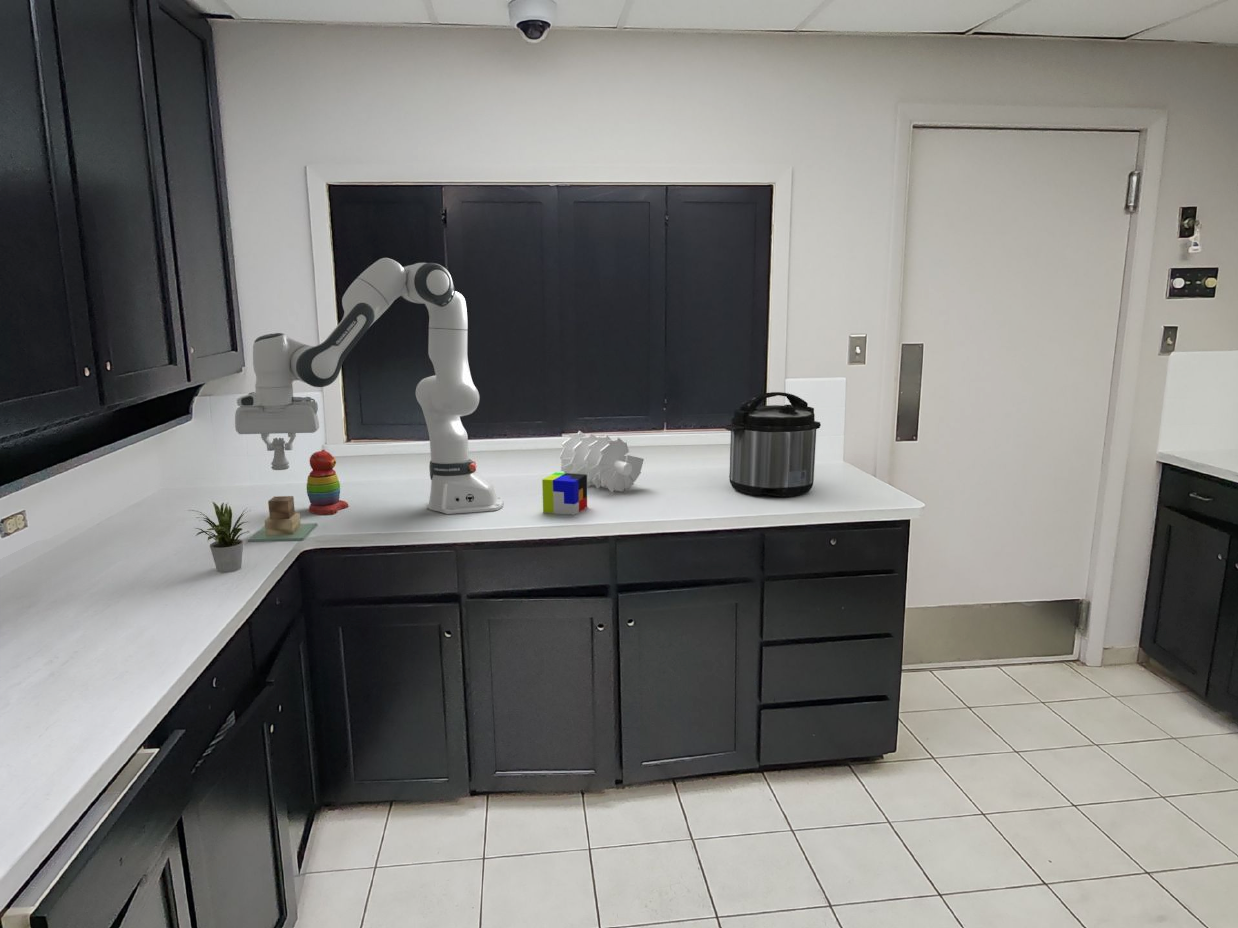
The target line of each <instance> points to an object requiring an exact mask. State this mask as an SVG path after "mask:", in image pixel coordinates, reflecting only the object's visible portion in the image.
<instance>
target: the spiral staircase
mask: <svg viewBox="0 0 1238 928" xmlns="http://www.w3.org/2000/svg"><path fill="white" fill-rule="evenodd" d="M561 445H562V450H561V452H560V454H559V457H558V458H559V459H560V460H561V462H560V463H561V464H560V465H561V466H560V472H563V473H572V474H586V475H587V488H589V487H590V486H595V487H596V489H600V487H601V488H604V489H608V490H609V491H610V492H611V493H614V491H618V492H624V491H625V490H627V489H628V488H630V487H632V486H634V485H635V482H636V481H637V479H639V476H640V475H641V473H642V472H641V471H642V467H643V464H644V460H645V459H644V458H642V457H638V456H633V455H629V454H628V453H629V452H630V450H629V447H628V444H627V441H626V440H625V441H624V440H622V439H621V438H620V437H616V439H611V438H610V436H608V434H605V435H604V437H603V436H602V437H601V436H599V435H594V434H592V433H589V434H588V433H586V434H585V433H584V432H582V431H581V430H578V431H577V433H569V438H568V439H566V440H565V441H564V442H563V443H561Z"/></svg>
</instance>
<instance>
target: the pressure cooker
mask: <svg viewBox="0 0 1238 928" xmlns="http://www.w3.org/2000/svg"><path fill="white" fill-rule="evenodd" d="M777 396H781V397H786V399H787V401H788V403H790V404H783V405H781V404H780V405H778V404H777V405H775V404H774V405H772V404H771V405H760V404H761V403H762V402H763V401H764V400H765V399H769V398H773V397H777ZM808 405H809V404H808V402H807V401H805V399H803V398H801V397H799V396H797V395H795V394H792V393H789V392H783V391H782V392H779V391H773V392H772V391H771V392H765V393H761V394H758V395H755V396H754V397H751V398H749V399H747V400H745V401H744V402H742V403H741V404H740V407H739V409H738V408H737V409H734V411H733V418H732V419H731V422H730V423H731V424H727V425H725V426H724V429H725V430H726V431H728V432H729V431H730V447H729V448H730V449H729V450H730V451H729V452H730V453H729V476H728V477H729V479H728V480H729V483H730V485H731V487H732V489H734V490H736V491H740V492H742V493H745V494H750V495H755V496H761V495H767V496H771V497H795V496H801V495H804V494H807V493H809V492H810V491H811V489H812V488H813V486H814V479H815V463H816V461H815V460H816V441H817V430H818V429H821V428H820V427H821V426H822V425H821V422H820V421H817V420H815V417H816V416H815V408H814V407H811V406H808Z"/></svg>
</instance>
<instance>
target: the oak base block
mask: <svg viewBox="0 0 1238 928" xmlns="http://www.w3.org/2000/svg"><path fill="white" fill-rule="evenodd" d="M301 524H302V523H301V513H300V512H295V514H294V515H293V516H292V517H291V518H290V519H270V516H268V517H267V518H266V519H265V520H264V525H265V532H266V535H293V534H294V533H295V532H296V531H297V530H298V529H299V528H300V527H301Z"/></svg>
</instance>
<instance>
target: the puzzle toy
mask: <svg viewBox="0 0 1238 928" xmlns="http://www.w3.org/2000/svg"><path fill="white" fill-rule="evenodd" d="M541 481H542V485H541V487H542V513H544V512H546V513H545V514H557V515H566V514H572V515H571V516H576V515H577V514H579V513H581V512H582V511H583V510H585V509H586V508H588V487H587V475H586V474H572V473H564V472H557V471H556V472H554V473H552V474H549V475H548V476H546V477H545V478H542V480H541ZM585 507H586V508H585ZM584 508H585V509H584ZM581 510H582V511H581ZM578 512H579V513H578ZM575 514H576V515H575Z"/></svg>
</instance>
